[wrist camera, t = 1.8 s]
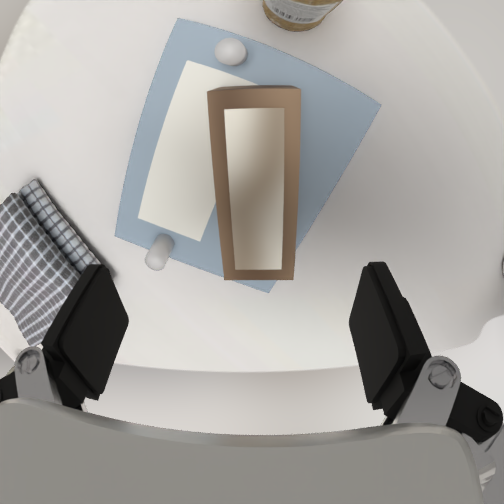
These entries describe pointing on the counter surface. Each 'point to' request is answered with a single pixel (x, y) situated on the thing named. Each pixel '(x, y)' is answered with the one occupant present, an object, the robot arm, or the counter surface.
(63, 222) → the towel
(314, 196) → the panel
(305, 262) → the counter surface
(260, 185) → the frame
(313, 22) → the pill bottle
